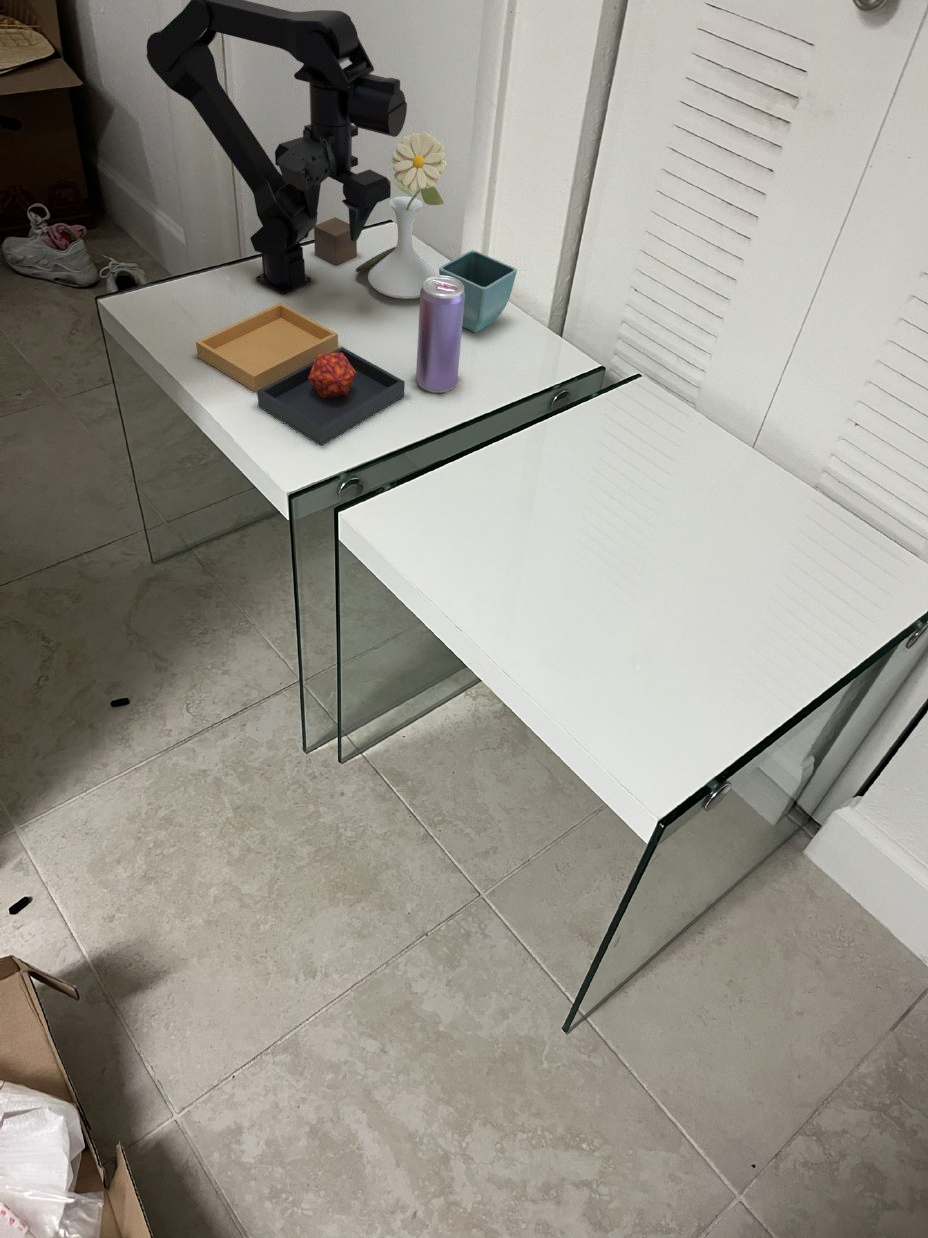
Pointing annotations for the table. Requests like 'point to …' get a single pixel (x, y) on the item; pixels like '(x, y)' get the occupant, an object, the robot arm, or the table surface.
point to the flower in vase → (410, 215)
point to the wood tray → (267, 346)
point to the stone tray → (330, 399)
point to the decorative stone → (332, 375)
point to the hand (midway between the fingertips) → (333, 228)
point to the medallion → (374, 260)
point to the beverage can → (439, 333)
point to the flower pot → (481, 287)
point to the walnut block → (334, 241)
